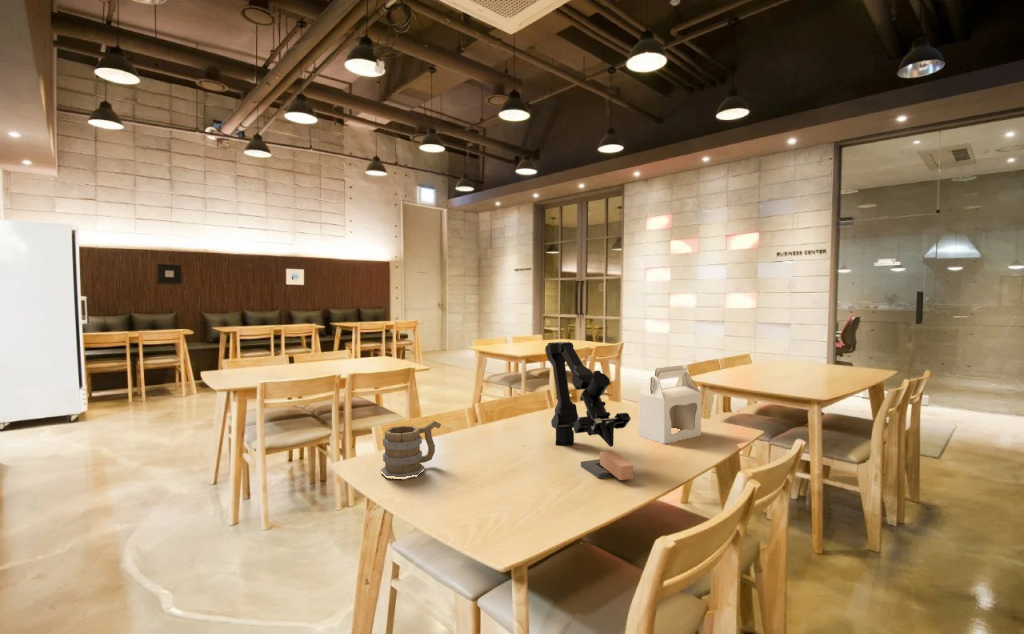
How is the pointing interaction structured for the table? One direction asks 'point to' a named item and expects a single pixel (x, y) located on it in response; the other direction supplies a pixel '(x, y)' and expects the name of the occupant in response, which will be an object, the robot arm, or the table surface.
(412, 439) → the tankard
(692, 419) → the gable box
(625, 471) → the block
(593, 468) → the plate
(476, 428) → the table surface
